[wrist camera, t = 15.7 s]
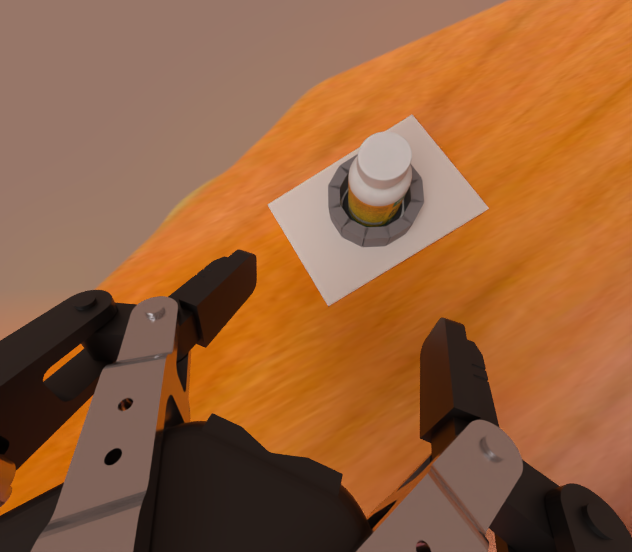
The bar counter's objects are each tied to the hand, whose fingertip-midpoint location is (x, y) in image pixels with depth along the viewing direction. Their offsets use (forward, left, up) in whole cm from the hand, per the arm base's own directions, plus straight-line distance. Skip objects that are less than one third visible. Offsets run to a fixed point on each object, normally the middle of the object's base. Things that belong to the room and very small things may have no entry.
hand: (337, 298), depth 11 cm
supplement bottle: (-9, -8, -17) cm, 20 cm away
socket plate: (-9, -8, -17) cm, 21 cm away
